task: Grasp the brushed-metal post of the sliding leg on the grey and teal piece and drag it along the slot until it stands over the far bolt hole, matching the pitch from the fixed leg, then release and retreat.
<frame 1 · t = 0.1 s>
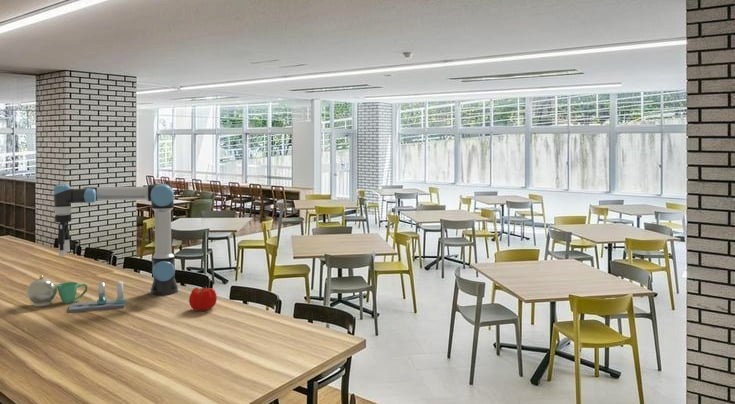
hand: (64, 254, 282), 28 cm above the table, fingers open, 13 cm apart
grey and teal piece: (97, 307, 282), on the table
tomato: (202, 309, 280), on the table
teapot: (40, 305, 285), on the table
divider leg: (101, 293, 282), point 7 cm above the table, slide at 0.0 cm
mug: (73, 301, 292), on the table
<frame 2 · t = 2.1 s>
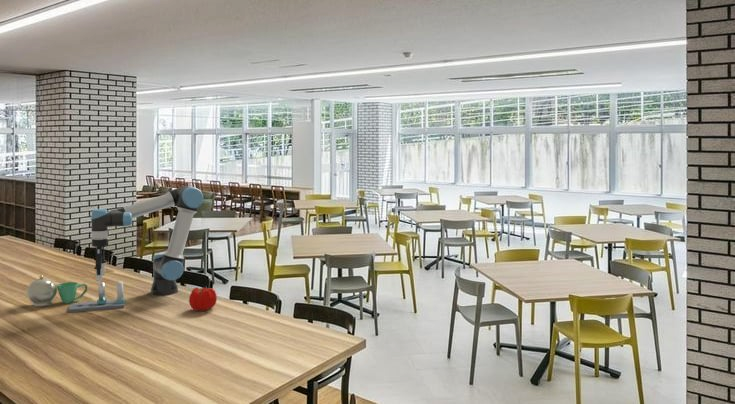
hand: (100, 278, 281), 15 cm above the table, fingers open, 13 cm apart
nothing on the table moved.
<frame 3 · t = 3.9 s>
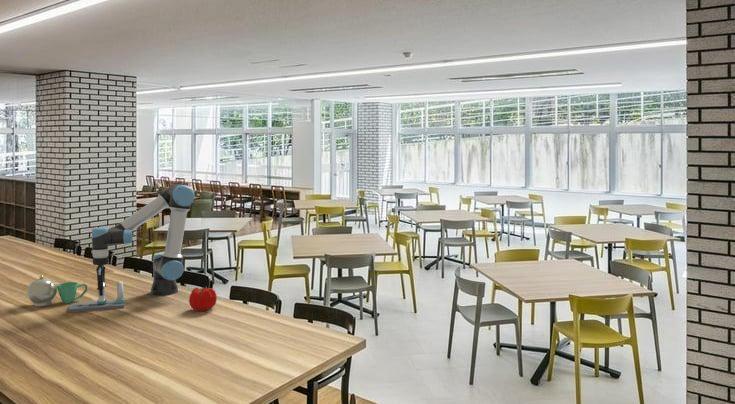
hand: (101, 300, 283), 4 cm above the table, fingers closed on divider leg, 3 cm apart
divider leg: (101, 293, 282), point 7 cm above the table, slide at 0.0 cm, touching gripper
everything else where it was.
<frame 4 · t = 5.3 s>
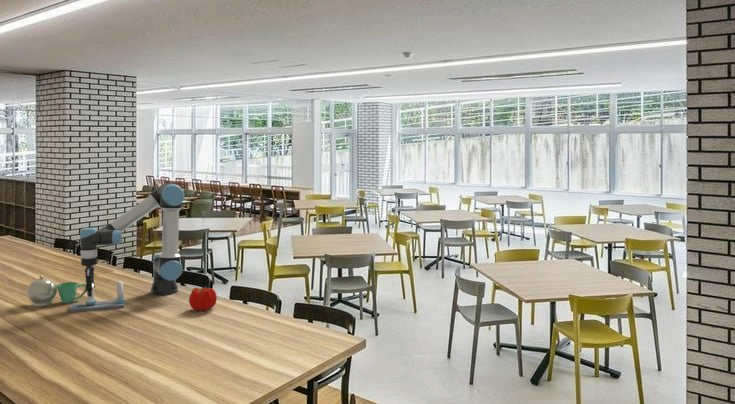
hand: (90, 301, 281), 4 cm above the table, fingers closed on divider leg, 3 cm apart
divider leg: (90, 293, 280), point 7 cm above the table, slide at 5.3 cm, touching gripper
everything else where it was.
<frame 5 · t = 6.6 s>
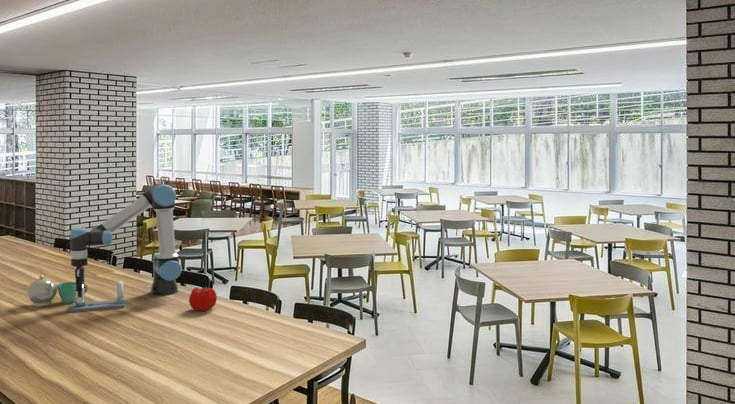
hand: (80, 301, 279), 4 cm above the table, fingers closed on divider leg, 3 cm apart
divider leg: (80, 294, 279), point 7 cm above the table, slide at 9.9 cm, touching gripper
everything else where it was.
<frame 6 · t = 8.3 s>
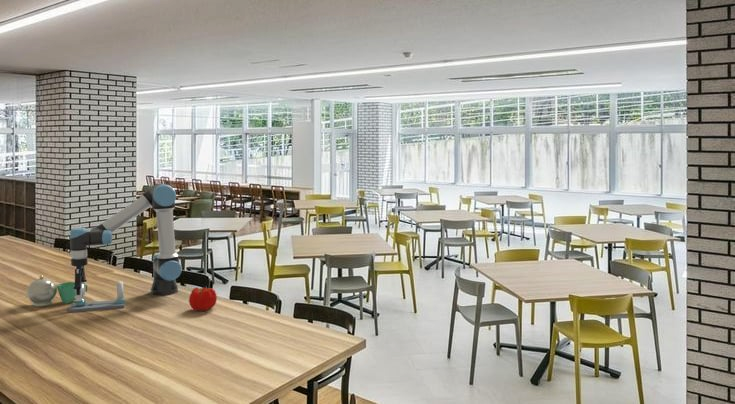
hand: (80, 297, 279), 6 cm above the table, fingers open, 13 cm apart
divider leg: (80, 294, 279), point 7 cm above the table, slide at 10.0 cm
everything else where it was.
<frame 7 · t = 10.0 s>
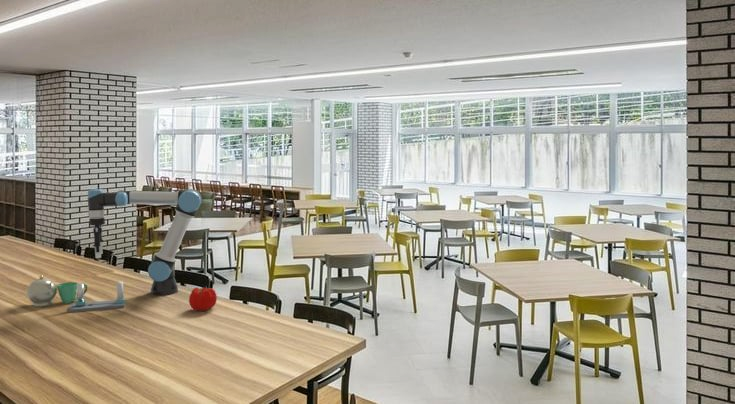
hand: (99, 256, 292), 25 cm above the table, fingers open, 13 cm apart
nothing on the table moved.
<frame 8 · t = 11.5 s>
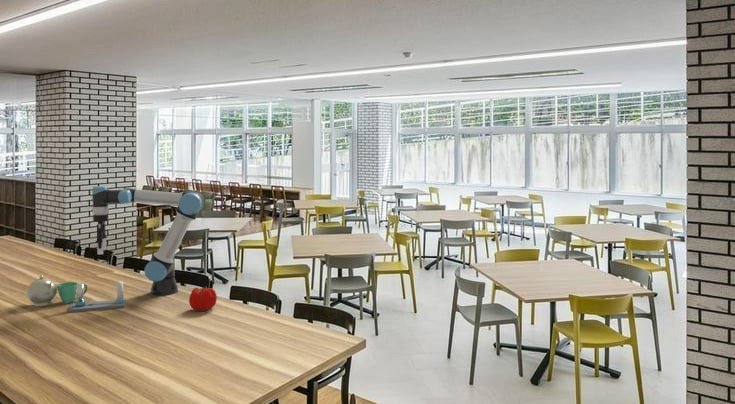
hand: (101, 252, 295), 27 cm above the table, fingers open, 13 cm apart
nothing on the table moved.
at the end: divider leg slide at 10.0 cm; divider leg 0.0 cm from the target spot, resting on grey and teal piece; the gripper is holding nothing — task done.
